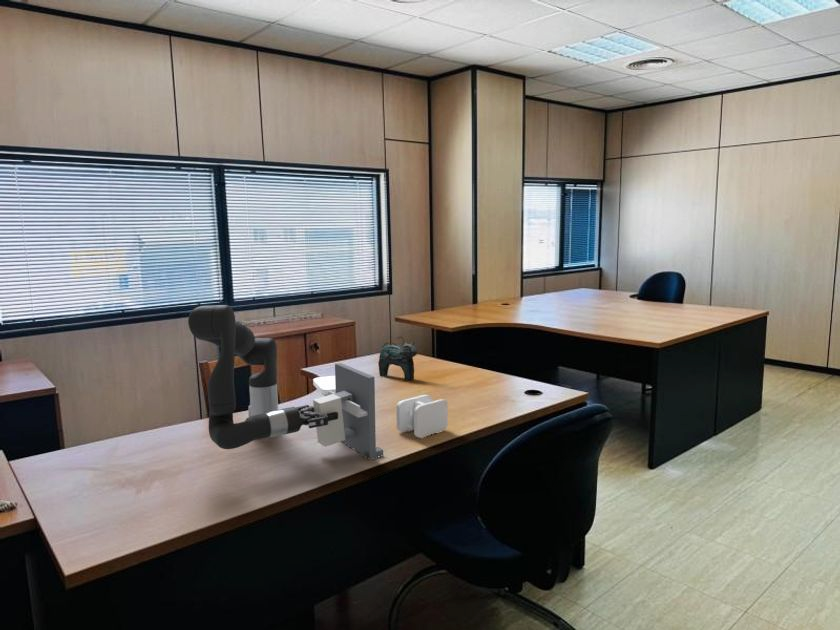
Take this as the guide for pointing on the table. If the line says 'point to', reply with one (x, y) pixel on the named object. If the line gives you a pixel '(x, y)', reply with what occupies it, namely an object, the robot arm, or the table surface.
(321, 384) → the mac mini
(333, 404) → the white block
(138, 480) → the table surface
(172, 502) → the table surface
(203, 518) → the table surface
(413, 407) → the cable organizer
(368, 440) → the wall board
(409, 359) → the ceramic cat
